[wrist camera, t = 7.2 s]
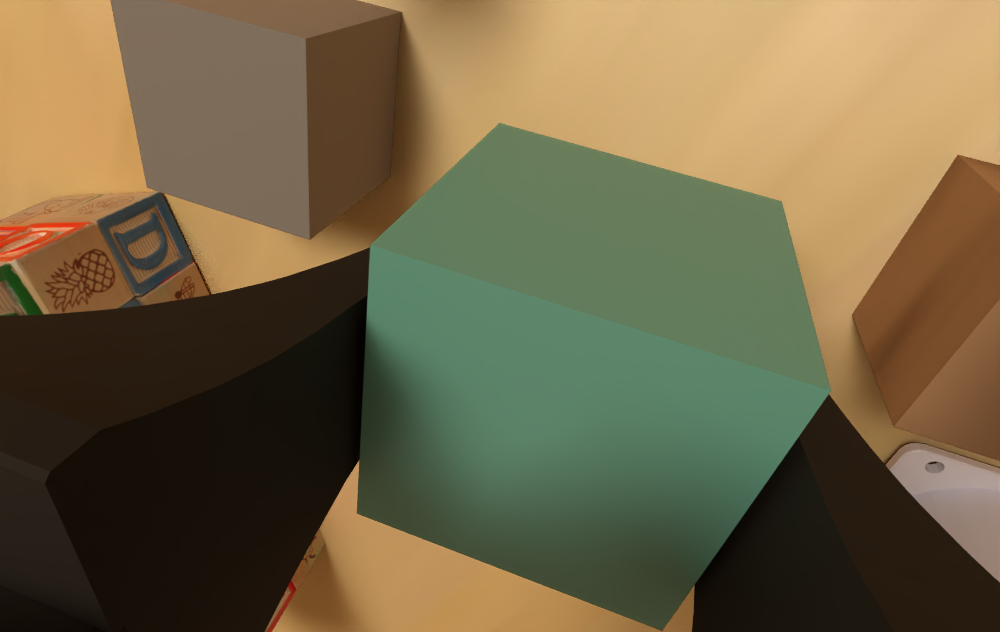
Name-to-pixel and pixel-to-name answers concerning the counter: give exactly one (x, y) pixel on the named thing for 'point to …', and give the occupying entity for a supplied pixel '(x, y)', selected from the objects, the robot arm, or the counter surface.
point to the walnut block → (942, 315)
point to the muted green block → (582, 368)
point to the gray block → (262, 103)
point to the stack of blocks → (104, 271)
